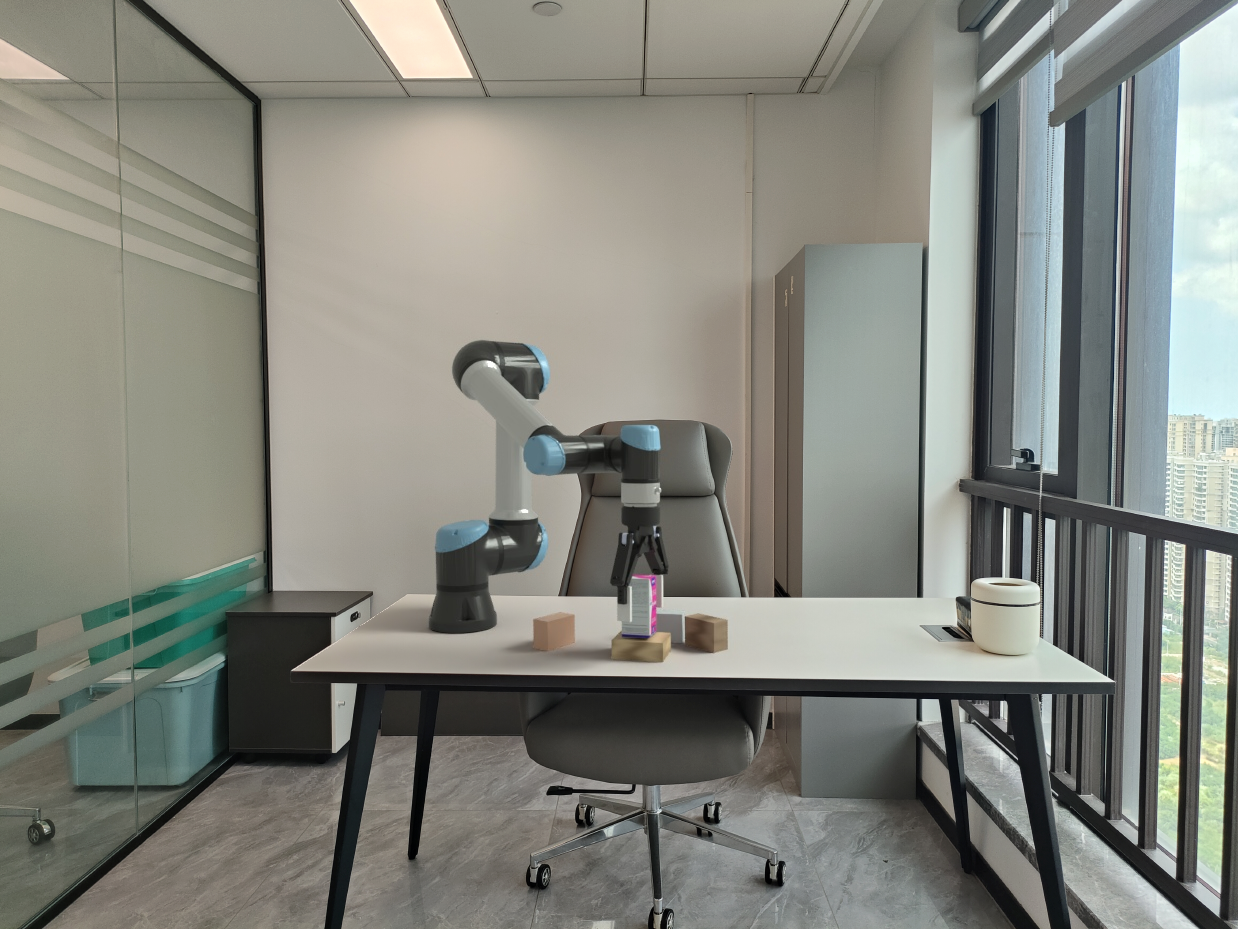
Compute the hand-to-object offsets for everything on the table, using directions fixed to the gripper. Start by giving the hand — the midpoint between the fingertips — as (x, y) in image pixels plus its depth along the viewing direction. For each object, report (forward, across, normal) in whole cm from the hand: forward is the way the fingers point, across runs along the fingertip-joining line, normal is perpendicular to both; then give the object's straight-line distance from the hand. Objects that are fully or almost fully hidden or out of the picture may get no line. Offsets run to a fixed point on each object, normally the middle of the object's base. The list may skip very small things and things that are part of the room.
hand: (641, 613), depth 152 cm
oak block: (+8, 0, 0) cm, 8 cm away
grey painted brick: (+8, +12, +1) cm, 15 cm away
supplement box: (+4, 0, 0) cm, 4 cm away
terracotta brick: (+8, -2, +19) cm, 21 cm away
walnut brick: (+8, +11, -9) cm, 16 cm away
